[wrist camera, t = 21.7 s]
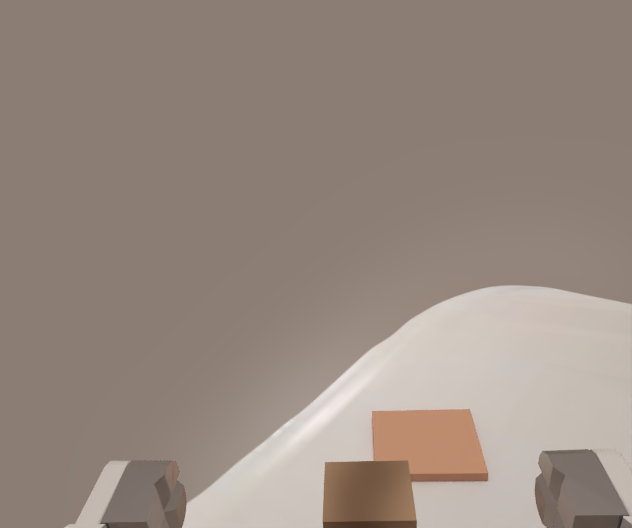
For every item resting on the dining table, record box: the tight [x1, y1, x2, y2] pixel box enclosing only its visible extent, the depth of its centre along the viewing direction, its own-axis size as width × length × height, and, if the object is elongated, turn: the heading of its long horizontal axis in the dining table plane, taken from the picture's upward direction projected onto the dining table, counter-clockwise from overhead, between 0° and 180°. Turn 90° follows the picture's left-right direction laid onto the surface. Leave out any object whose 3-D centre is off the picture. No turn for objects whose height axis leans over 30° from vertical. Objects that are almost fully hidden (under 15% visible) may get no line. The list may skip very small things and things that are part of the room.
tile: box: [372, 409, 488, 481], centre depth 50 cm, size 10×2×8 cm
